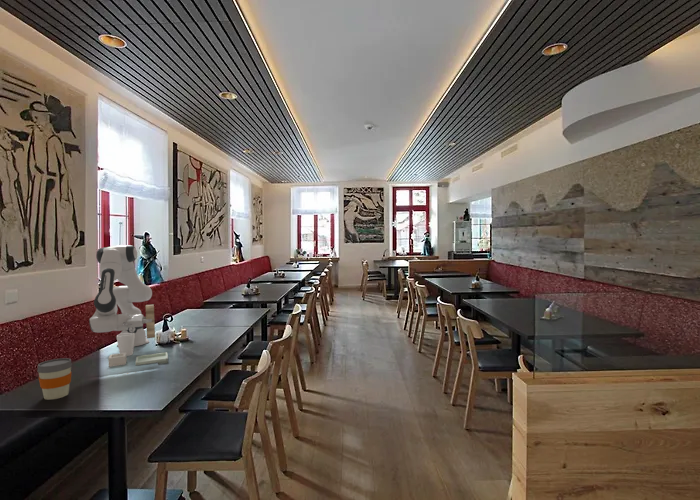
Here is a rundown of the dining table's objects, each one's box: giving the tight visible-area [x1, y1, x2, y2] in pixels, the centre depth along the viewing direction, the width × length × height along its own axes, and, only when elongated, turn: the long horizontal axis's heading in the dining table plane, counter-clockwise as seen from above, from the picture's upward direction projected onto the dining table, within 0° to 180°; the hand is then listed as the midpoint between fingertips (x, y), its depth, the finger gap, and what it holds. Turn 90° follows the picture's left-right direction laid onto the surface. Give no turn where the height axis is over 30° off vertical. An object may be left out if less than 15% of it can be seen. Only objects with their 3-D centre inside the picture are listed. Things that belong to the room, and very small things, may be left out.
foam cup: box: [116, 333, 135, 357], centre depth 246 cm, size 10×9×13 cm
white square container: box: [107, 352, 128, 367], centre depth 229 cm, size 8×8×6 cm
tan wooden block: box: [145, 304, 156, 339], centre depth 233 cm, size 4×4×18 cm
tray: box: [135, 351, 169, 366], centre depth 234 cm, size 14×16×2 cm
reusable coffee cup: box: [36, 357, 73, 400], centre depth 185 cm, size 13×13×15 cm
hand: (152, 319), depth 234 cm, fingers closed on tan wooden block, 4 cm apart
